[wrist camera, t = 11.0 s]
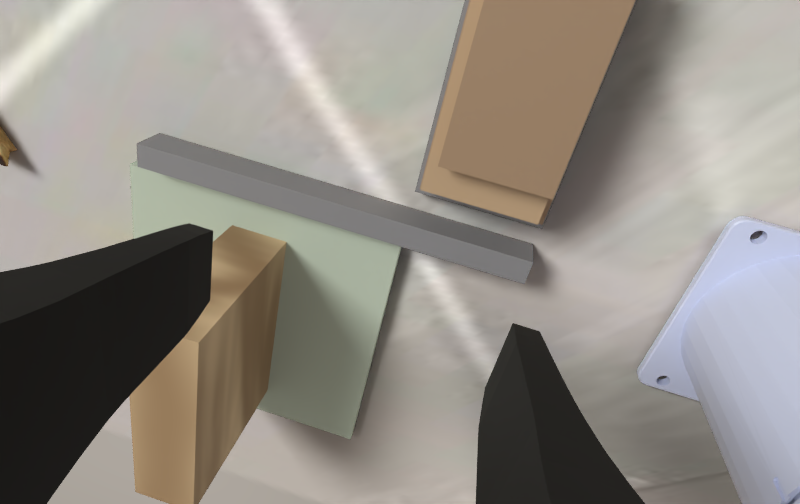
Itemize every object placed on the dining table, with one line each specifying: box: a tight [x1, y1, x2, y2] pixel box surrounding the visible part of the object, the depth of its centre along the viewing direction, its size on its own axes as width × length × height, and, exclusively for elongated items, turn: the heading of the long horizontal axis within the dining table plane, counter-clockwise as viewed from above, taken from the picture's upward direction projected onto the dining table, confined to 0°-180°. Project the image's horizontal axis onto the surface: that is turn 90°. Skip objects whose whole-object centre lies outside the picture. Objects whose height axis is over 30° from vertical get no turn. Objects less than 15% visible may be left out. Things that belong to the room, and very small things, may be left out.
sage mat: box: [130, 161, 402, 440], centre depth 25 cm, size 12×12×1 cm
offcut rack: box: [137, 0, 637, 284], centre depth 17 cm, size 16×15×3 cm
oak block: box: [130, 225, 287, 504], centre depth 21 cm, size 2×9×7 cm, turn 167°
